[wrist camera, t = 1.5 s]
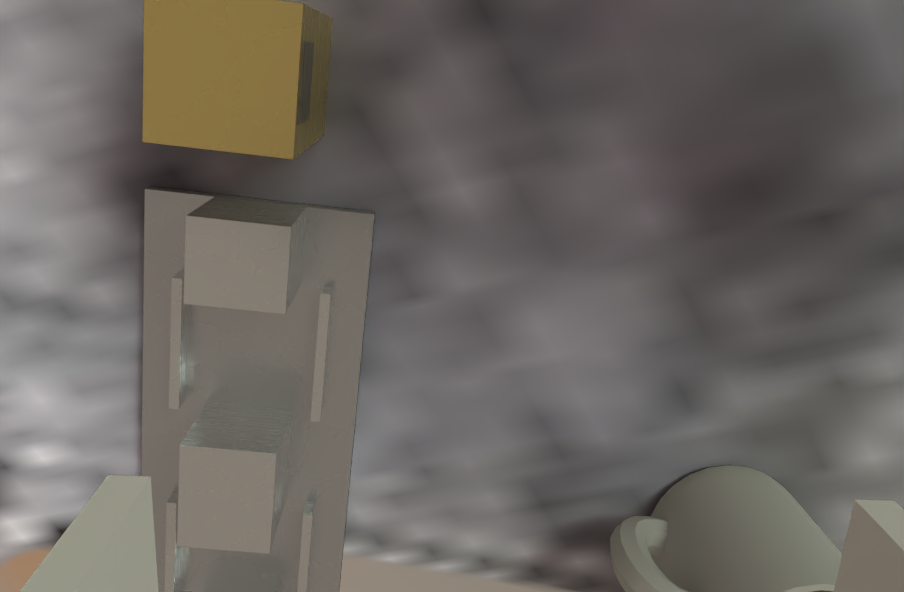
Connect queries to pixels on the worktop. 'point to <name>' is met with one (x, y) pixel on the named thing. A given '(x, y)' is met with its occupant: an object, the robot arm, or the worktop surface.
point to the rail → (250, 387)
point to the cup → (724, 539)
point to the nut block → (235, 75)
